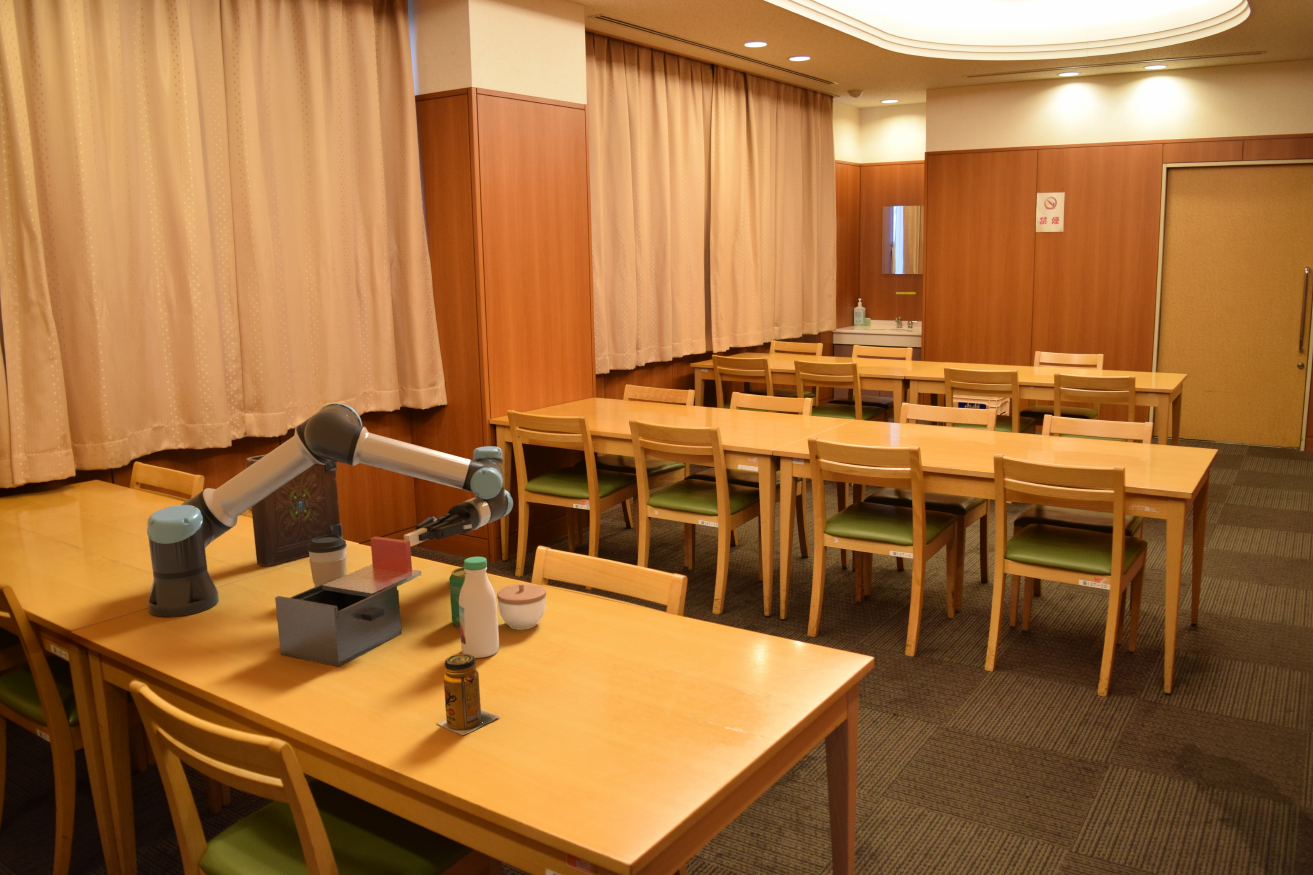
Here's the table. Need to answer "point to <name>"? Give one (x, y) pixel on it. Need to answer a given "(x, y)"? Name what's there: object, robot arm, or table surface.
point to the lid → (378, 569)
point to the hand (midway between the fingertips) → (406, 541)
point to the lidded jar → (522, 605)
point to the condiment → (463, 696)
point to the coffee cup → (327, 558)
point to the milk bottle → (478, 611)
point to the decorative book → (296, 514)
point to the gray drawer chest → (336, 624)
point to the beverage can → (456, 593)
